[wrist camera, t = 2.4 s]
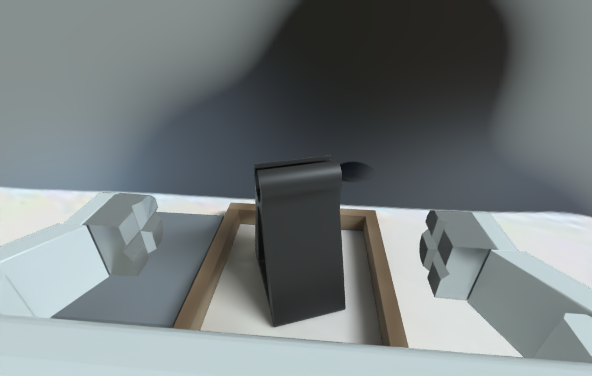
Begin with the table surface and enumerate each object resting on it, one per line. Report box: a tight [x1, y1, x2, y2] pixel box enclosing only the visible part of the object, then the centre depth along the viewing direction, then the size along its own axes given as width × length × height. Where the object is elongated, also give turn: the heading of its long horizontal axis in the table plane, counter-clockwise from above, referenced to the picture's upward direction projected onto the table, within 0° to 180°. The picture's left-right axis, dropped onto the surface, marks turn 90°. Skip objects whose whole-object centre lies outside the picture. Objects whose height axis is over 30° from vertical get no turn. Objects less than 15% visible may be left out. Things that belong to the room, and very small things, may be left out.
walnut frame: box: [173, 203, 409, 348], centre depth 28 cm, size 16×17×2 cm
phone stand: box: [254, 155, 345, 327], centre depth 25 cm, size 9×6×12 cm, turn 16°
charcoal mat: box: [50, 212, 224, 328], centre depth 30 cm, size 12×14×1 cm
